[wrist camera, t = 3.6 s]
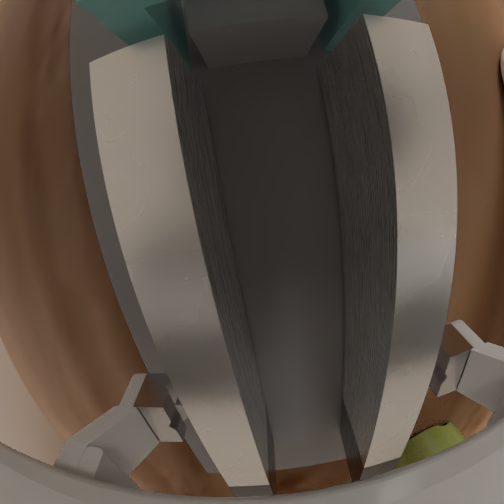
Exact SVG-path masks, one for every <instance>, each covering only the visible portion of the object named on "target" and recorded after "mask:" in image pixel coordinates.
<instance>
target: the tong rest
mask: <svg viewBox="0 0 504 504" xmlns="http://www.w3.org/2000/svg"><path fill="white" fill-rule="evenodd" d="M182 6H183V13H184V20H185V27H186V34H187V41H188V48H189V55H190V61H191V69H192V71H193V72H194V73H195V75H196V76H197V77H198V79H199V80H200V81H201V83H202V84H203V90H204V96H205V102H206V108H207V114H208V120H209V126H210V131H211V137H212V143H213V148H214V154H215V160H216V165H217V171H218V176H219V182H220V187H221V192H222V198H223V203H224V208H225V214H226V219H227V224H228V229H229V234H230V240H231V245H232V250H233V255H234V260H235V265H236V270H237V275H238V280H239V285H240V290H241V295H242V300H243V304H244V309H245V314H246V319H247V324H248V328H249V333H250V338H251V343H252V347H253V352H254V357H255V361H256V366H257V370H258V375H259V379H260V384H261V389H262V393H263V397H264V402H265V406H266V410H267V414H268V418H269V423H270V427H271V432H272V436H273V440H274V450H275V468H276V470H283V469H291V468H298V467H305V466H311V465H317V464H323V463H328V462H333V461H338V460H342V459H346V454H345V451H344V447H343V443H342V439H341V435H340V423H341V410H342V398H343V382H344V354H345V297H344V268H343V249H342V234H341V222H340V210H339V200H338V190H337V181H336V173H335V165H334V157H333V150H332V143H331V137H330V130H329V124H328V118H327V112H326V107H325V101H324V96H323V91H322V86H321V81H320V76H319V72H318V68H319V66H320V65H321V64H322V63H323V61H324V60H325V59H326V58H327V56H328V55H329V54H330V53H331V51H323V49H322V45H321V41H320V37H319V32H320V31H321V29H322V27H323V26H324V24H325V22H326V21H327V19H328V14H327V11H326V8H325V5H324V1H323V0H182ZM385 17H392V18H398V19H404V20H410V21H415V22H420V23H422V20H421V17H420V14H419V12H418V9H417V7H416V4H415V2H414V0H401V1H400V2H399V3H398V4H397V5H396V6H395V7H393V8H392V9H391V10H390V11H389V12H388V13H387V14H386V15H385ZM128 46H129V45H128V44H127V43H125V42H124V41H123V40H121V39H120V38H119V37H117V36H116V35H115V34H113V33H112V32H111V31H109V30H108V29H107V28H105V27H104V26H103V25H102V22H101V21H100V20H98V19H97V18H96V17H94V16H93V15H92V14H90V13H89V12H87V11H86V10H85V9H83V8H82V7H80V6H79V5H77V4H76V0H73V1H72V4H71V19H70V80H71V96H72V107H73V117H74V125H75V133H76V140H77V147H78V153H79V159H80V165H81V170H82V176H83V181H84V185H85V190H86V195H87V199H88V203H89V208H90V212H91V216H92V220H93V224H94V227H95V231H96V235H97V238H98V242H99V245H100V249H101V252H102V255H103V258H104V262H105V265H106V268H107V271H108V274H109V277H110V280H111V283H112V286H113V289H114V291H115V294H116V297H117V300H118V302H119V305H120V308H121V310H122V313H123V315H124V318H125V320H126V323H127V325H128V328H129V330H130V332H131V335H132V337H133V340H134V342H135V344H136V346H137V349H138V351H139V353H140V355H141V357H142V360H143V362H144V364H145V366H146V368H147V370H148V372H149V373H167V372H166V370H165V367H164V365H163V363H162V361H161V358H160V356H159V354H158V351H157V349H156V346H155V344H154V342H153V339H152V337H151V334H150V331H149V329H148V326H147V324H146V321H145V318H144V316H143V313H142V310H141V308H140V305H139V302H138V299H137V296H136V293H135V290H134V287H133V284H132V281H131V278H130V275H129V272H128V269H127V266H126V262H125V259H124V256H123V252H122V249H121V246H120V242H119V238H118V235H117V231H116V227H115V223H114V219H113V215H112V211H111V207H110V203H109V199H108V194H107V190H106V185H105V180H104V175H103V170H102V165H101V159H100V154H99V148H98V142H97V135H96V128H95V121H94V113H93V104H92V94H91V82H90V67H89V63H90V62H92V61H94V60H96V59H98V58H101V57H103V56H105V55H108V54H110V53H112V52H115V51H117V50H120V49H122V48H125V47H128ZM184 423H185V425H186V432H185V436H184V438H185V440H186V441H187V443H188V445H189V446H190V448H191V449H192V451H193V453H194V454H195V456H196V457H197V459H198V460H199V462H200V463H201V465H202V466H203V468H204V469H205V470H206V472H207V473H220V472H219V470H218V469H217V467H216V465H215V464H214V462H213V460H212V459H211V457H210V455H209V454H208V452H207V450H206V449H205V447H204V445H203V443H202V442H201V440H200V438H199V436H198V434H197V432H196V431H195V429H194V427H193V425H192V423H191V421H190V419H189V417H188V418H187V419H186V420H184Z"/></svg>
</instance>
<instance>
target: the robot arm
mask: <svg viewBox="0 0 504 504" xmlns="http://www.w3.org/2000/svg"><path fill="white" fill-rule="evenodd" d="M429 386H430V387H431V389H432V391H433V392H434V394H435V395H436V397H439V396H442V395H444V394H447V393H450V392H452V391H454V390H456V391H457V392H459V393H461V394H463V395H464V396H466V397H468V398H470V399H471V400H473V401H475V402H476V403H478V404H480V405H482V406H483V407H485V408H487V409H489V410H490V411H492V412H493V414H492V416H491V417H490V419H489V420H488V423H487V428H485V429H483V430H481V431H480V432H478V433H476V434H474V435H473V436H471V437H469V438H467V439H465V440H463V441H461V442H459V443H457V444H455V445H453V446H451V447H449V448H447V449H445V450H443V451H441V452H438V453H436V454H434V455H432V456H429V457H427V458H424V459H422V460H420V461H417V462H414V463H412V464H409V465H406V466H404V467H401V468H398V469H395V470H392V471H389V472H386V473H383V474H380V475H376V476H373V477H369V478H366V479H362V480H358V481H354V482H350V483H346V484H342V485H337V486H332V487H327V488H322V489H316V490H310V491H304V492H297V493H289V494H279V495H268V496H252V497H204V496H188V495H176V494H167V493H159V492H152V491H146V490H140V489H139V487H138V485H137V484H136V483H135V482H134V481H133V480H132V479H131V478H130V477H129V476H128V475H129V474H130V473H131V472H132V471H133V470H134V469H135V468H136V467H137V466H138V465H139V464H140V463H141V462H142V461H143V460H144V459H145V458H146V457H147V456H148V455H149V454H150V452H151V451H152V450H153V449H154V448H155V447H156V446H157V445H158V444H159V443H160V442H159V441H165V442H183V441H184V436H185V432H186V425H185V423H184V420H186V419H187V418H188V416H187V414H186V412H185V410H184V408H183V406H182V404H181V402H180V400H179V398H178V396H177V393H176V391H175V389H174V387H173V385H172V383H171V381H170V379H169V376H168V374H167V373H136V374H134V375H133V376H132V378H131V380H130V382H129V385H128V387H127V389H126V391H125V393H124V395H123V397H122V399H121V402H120V404H119V406H114V407H112V408H111V409H109V410H108V411H107V412H105V413H104V414H102V415H101V416H100V417H98V418H97V419H95V420H94V421H92V422H91V423H89V424H88V425H87V426H85V427H84V428H82V429H81V430H79V431H78V432H76V433H75V434H73V435H72V436H70V437H69V438H67V439H66V441H65V443H64V445H63V447H62V449H61V451H60V453H59V455H58V457H57V459H56V461H55V463H54V465H53V466H52V465H49V464H46V463H44V462H41V461H39V460H37V459H34V458H32V457H30V456H28V455H25V454H23V453H21V452H19V451H17V450H15V449H12V448H11V447H9V446H7V445H5V444H3V443H1V442H0V504H504V347H502V346H499V345H496V344H492V343H489V342H487V343H484V342H483V341H482V340H481V339H480V338H479V337H478V336H477V335H476V334H475V333H474V332H473V331H472V330H471V329H470V328H469V327H468V326H467V325H466V324H465V323H464V322H463V321H462V320H456V321H453V322H450V323H448V324H446V325H445V326H444V331H443V336H442V340H441V344H440V348H439V352H438V356H437V360H436V364H435V367H434V371H433V374H432V377H431V381H430V384H429Z"/></svg>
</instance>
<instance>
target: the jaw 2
mask: <svg viewBox="0 0 504 504" xmlns="http://www.w3.org/2000/svg"><path fill="white" fill-rule="evenodd" d="M318 72H319V76H320V81H321V86H322V91H323V96H324V101H325V107H326V112H327V118H328V124H329V130H330V137H331V143H332V150H333V157H334V165H335V173H336V181H337V190H338V200H339V210H340V222H341V234H342V249H343V268H344V297H345V354H344V382H343V398H342V410H341V423H340V435H341V439H342V443H343V447H344V451H345V454H346V458H347V462H348V467H349V471H350V475H351V479H352V482H354V481H358V480H362V479H366V478H369V477H373V476H376V475H380V474H383V473H386V472H389V471H392V470H395V468H396V466H397V464H398V462H399V460H400V458H401V455H402V453H403V451H404V449H405V446H406V444H407V442H408V440H409V437H410V435H411V433H412V430H413V428H414V425H415V423H416V420H417V418H418V415H419V413H420V410H421V407H422V404H423V402H424V399H425V396H426V393H427V390H428V387H429V384H430V381H431V377H432V374H433V371H434V367H435V364H436V360H437V356H438V352H439V348H440V344H441V340H442V336H443V331H444V326H445V322H446V316H447V311H448V306H449V300H450V293H451V286H452V279H453V270H454V261H455V250H456V234H457V172H456V157H455V145H454V136H453V128H452V121H451V114H450V108H449V102H448V97H447V92H446V87H445V82H444V78H443V73H442V69H441V65H440V61H439V58H438V54H437V50H436V47H435V44H434V40H433V37H432V34H431V31H430V28H429V25H428V24H424V23H420V22H415V21H410V20H404V19H398V18H392V17H385V16H377V15H368V14H362V15H361V17H360V18H359V19H358V20H357V21H356V22H355V24H354V25H353V26H352V27H351V28H350V30H349V31H348V32H347V33H346V34H345V35H344V37H343V38H342V39H341V40H340V42H339V43H338V44H337V45H336V46H335V48H334V49H333V50H332V51H331V53H330V54H329V55H328V56H327V58H326V59H325V60H324V61H323V63H322V64H321V65H320V66H319V68H318Z"/></svg>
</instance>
